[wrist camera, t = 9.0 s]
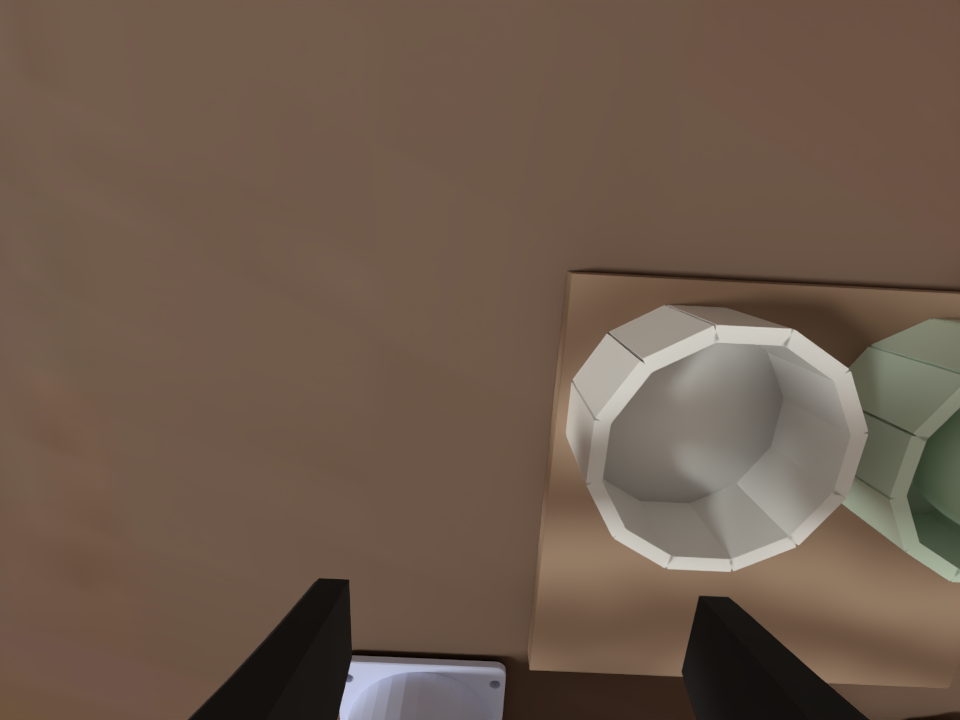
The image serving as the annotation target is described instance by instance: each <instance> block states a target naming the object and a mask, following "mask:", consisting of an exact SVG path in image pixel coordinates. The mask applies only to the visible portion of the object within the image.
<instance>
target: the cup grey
mask: <svg viewBox="0 0 960 720" xmlns="http://www.w3.org/2000/svg"><path fill="white" fill-rule="evenodd" d="M609 332H610V335H609V334H606V335H605V337H604V338H603V339H602V341H601V342H600V343H599V345H598V346H597V347H596V349H595V350H594V351H593V353H592V354H591V355H590V357H589V358H588V359H587V361H586V362H585V364H584V365H583V366H582V368H581V369H580V370H579V372H578V373H577V374H576V376H575V377H574V378H573V381H574V382H571V391H570V400H569V408H568V417H567V426H566V437H567V439H568V442H569V444H570V447H571V449H572V452H573V454H574V456H575V459H576V461H577V464H578V466H579V469H580V471H581V474H582V476H583V479H584V481H585V483H586V486H587V488H588V490H589V492H590V494H591V496H592V498H593V500H594V502H595V504H596V506H597V508H598V510H599V512H600V514H601V516H602V518H603V520H604V522H605V524H606V526H607V528H608V530H609V531H610V533H611V535H612V537H613V538H614V539H615V540H617V541H619V542H620V543H622V544H624V545H626V546H627V547H629V548H631V549H632V550H634V551H636V552H638V553H639V554H641V555H643V556H644V557H646V558H648V559H650V560H651V561H653V562H655V563H656V564H658V565H660V566H662V567H663V568H665V567H666V568H667V569H677V570H699V571H721V572H731V569H732V570H733V571H736V570H739V569H741V568H744V567H746V566H749V565H752V564H754V563H757V562H759V561H762V560H764V559H767V558H770V557H772V556H775V555H777V554H780V553H783V552H785V551H788V550H790V549H793V548H796V545H795V544H797V545H800V544H801V543H802V542H803V541H804V540H805V539H806V538H807V537H808V536H809V535H810V534H811V533H812V532H813V531H814V530H815V529H816V528H817V527H818V526H819V525H820V524H821V523H822V522H823V521H824V520H825V519H826V518H827V517H828V516H829V515H830V514H831V513H832V512H833V511H834V510H835V509H836V508H837V507H838V506H839V505H840V504H841V503H842V502H843V501H844V500H845V499H846V497H845V496H843V495H846V496H848V495H849V492H850V489H851V486H852V483H853V480H854V477H855V474H856V471H857V467H858V464H859V461H860V458H861V455H862V452H863V449H864V446H865V443H866V440H867V437H868V434H867V433H865V432H868V428H867V425H866V421H865V418H864V415H863V411H862V408H861V404H860V401H859V398H858V394H857V391H856V387H855V384H854V380H853V377H852V374H851V371H849V369H848V368H847V367H846V366H844V365H843V364H842V363H840V362H839V361H837V360H836V359H835V358H833V357H832V356H831V355H829V354H828V353H826V352H825V351H824V350H822V349H821V348H820V347H818V346H817V345H815V344H814V343H813V342H811V341H810V340H809V339H807V338H806V337H804V336H803V335H802V334H800V333H799V332H798V331H796V330H794V329H791V328H788V327H785V326H782V325H779V324H776V323H772V322H769V321H766V320H763V319H760V318H757V317H754V316H751V315H747V314H744V313H741V312H738V311H735V310H732V309H729V308H723V307H703V306H684V305H667V306H665V305H664V306H662V307H659V308H657V309H655V310H653V311H651V312H649V313H647V314H645V315H643V316H641V317H639V318H636V319H634V320H632V321H630V322H628V323H626V324H624V325H622V326H620V327H618V328H616V329H613V330H611V331H609Z"/></svg>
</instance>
